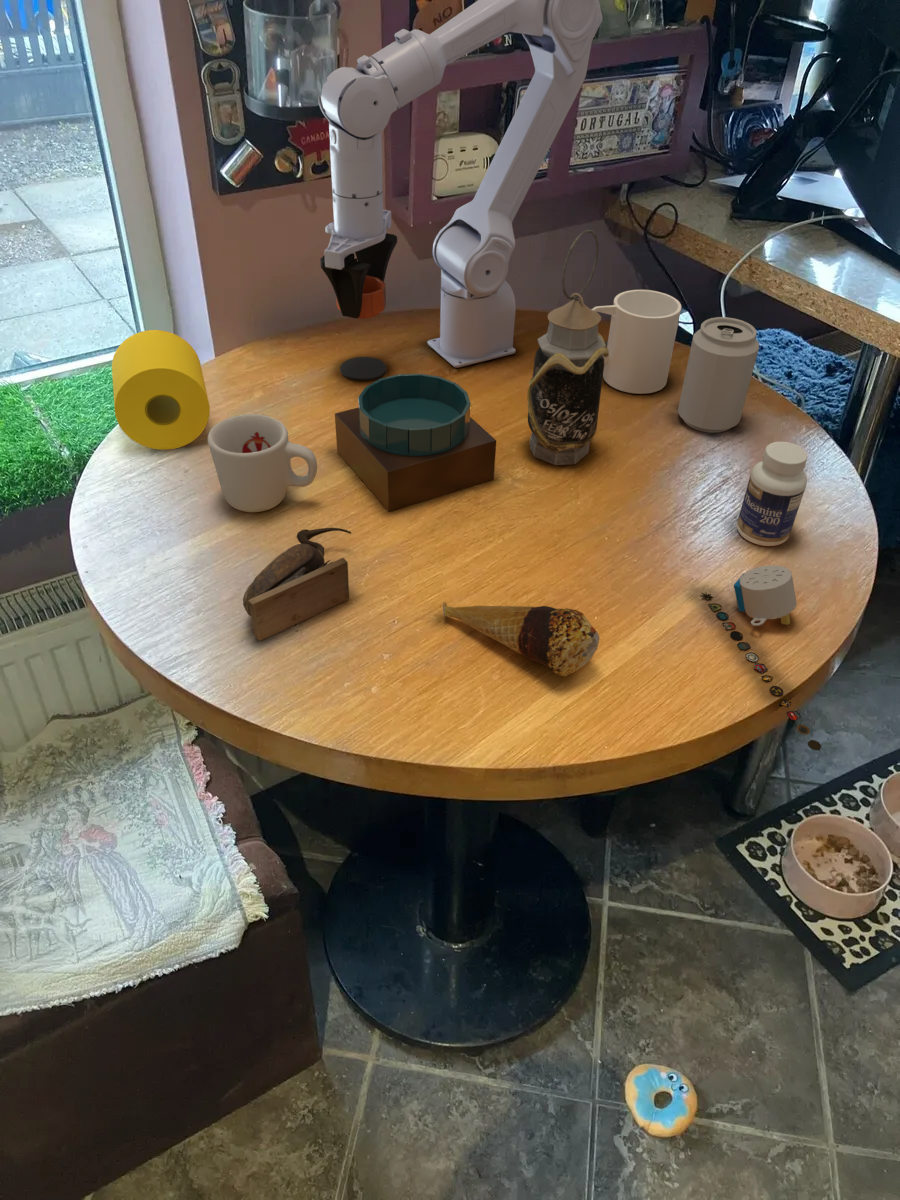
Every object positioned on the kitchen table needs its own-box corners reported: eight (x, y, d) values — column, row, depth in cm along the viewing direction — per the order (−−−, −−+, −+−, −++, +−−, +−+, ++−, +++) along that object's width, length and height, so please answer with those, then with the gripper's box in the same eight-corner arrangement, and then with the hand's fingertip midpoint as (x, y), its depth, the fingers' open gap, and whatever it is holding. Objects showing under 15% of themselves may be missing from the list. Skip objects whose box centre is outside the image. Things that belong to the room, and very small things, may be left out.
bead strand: (710, 592, 90) (697, 594, 90) (710, 591, 90) (698, 593, 90) (825, 750, 76) (811, 753, 75) (826, 749, 76) (811, 752, 75)
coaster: (374, 355, 125) (373, 352, 124) (394, 375, 121) (394, 372, 121) (332, 365, 122) (332, 362, 122) (352, 385, 118) (352, 382, 118)
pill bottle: (725, 531, 97) (747, 451, 91) (752, 510, 100) (775, 431, 94) (772, 555, 95) (798, 474, 88) (798, 532, 98) (825, 452, 91)
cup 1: (327, 482, 102) (322, 418, 97) (311, 526, 96) (305, 460, 91) (229, 474, 103) (219, 410, 98) (208, 517, 97) (196, 451, 92)
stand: (436, 424, 112) (437, 386, 109) (494, 479, 104) (496, 440, 100) (336, 451, 107) (334, 413, 104) (388, 511, 99) (387, 471, 95)
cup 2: (566, 367, 123) (575, 293, 116) (652, 360, 125) (666, 287, 118) (586, 398, 117) (597, 322, 110) (676, 390, 119) (692, 315, 113)
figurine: (386, 581, 90) (336, 537, 95) (385, 544, 87) (334, 500, 92) (258, 642, 83) (211, 590, 88) (252, 604, 80) (204, 553, 85)
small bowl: (371, 296, 119) (371, 271, 116) (393, 315, 115) (393, 289, 113) (329, 305, 116) (328, 280, 114) (350, 324, 112) (349, 298, 110)
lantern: (568, 478, 104) (597, 254, 88) (507, 453, 108) (524, 233, 91) (607, 445, 109) (641, 228, 93) (548, 422, 113) (571, 209, 96)
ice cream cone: (418, 626, 83) (574, 673, 76) (441, 566, 84) (597, 607, 77) (445, 646, 88) (593, 691, 81) (467, 589, 89) (614, 629, 82)
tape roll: (94, 415, 101) (93, 374, 108) (170, 465, 108) (164, 423, 114) (155, 350, 99) (149, 312, 105) (228, 405, 105) (218, 366, 112)
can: (744, 413, 116) (768, 321, 108) (731, 442, 111) (755, 347, 103) (684, 399, 118) (704, 307, 110) (669, 427, 113) (688, 333, 105)
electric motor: (730, 638, 87) (782, 644, 84) (721, 593, 85) (774, 598, 82) (761, 600, 92) (812, 605, 88) (753, 557, 90) (805, 560, 86)
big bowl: (435, 390, 108) (435, 364, 106) (488, 439, 100) (490, 412, 98) (341, 414, 103) (340, 388, 101) (390, 467, 96) (389, 440, 94)
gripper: (352, 167, 112) (356, 278, 121) (296, 205, 102) (305, 323, 111) (406, 175, 111) (407, 287, 120) (355, 215, 100) (360, 334, 109)
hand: (362, 305), depth 115 cm, fingers closed on small bowl, 6 cm apart
